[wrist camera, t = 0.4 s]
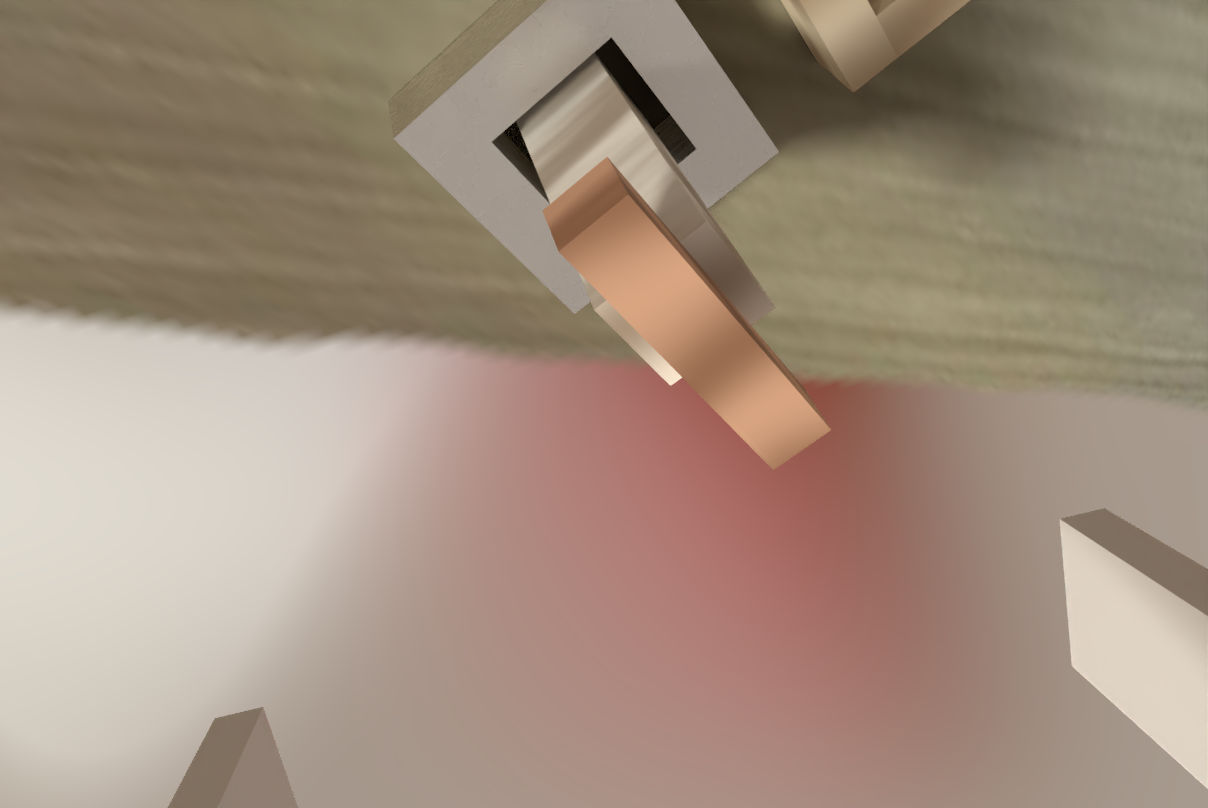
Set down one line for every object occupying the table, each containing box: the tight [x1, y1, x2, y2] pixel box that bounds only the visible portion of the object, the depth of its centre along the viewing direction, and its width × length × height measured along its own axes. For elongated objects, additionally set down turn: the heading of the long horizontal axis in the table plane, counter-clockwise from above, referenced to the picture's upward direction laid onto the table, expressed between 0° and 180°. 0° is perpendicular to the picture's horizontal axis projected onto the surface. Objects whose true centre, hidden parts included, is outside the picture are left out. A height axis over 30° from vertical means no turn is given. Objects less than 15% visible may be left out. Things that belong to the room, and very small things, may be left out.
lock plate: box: [388, 0, 779, 314], centre depth 42 cm, size 12×12×4 cm
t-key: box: [516, 52, 831, 469], centre depth 36 cm, size 12×4×19 cm, turn 37°
